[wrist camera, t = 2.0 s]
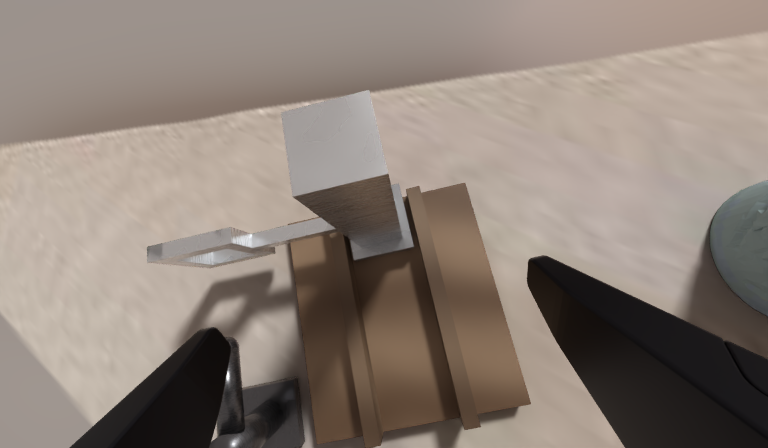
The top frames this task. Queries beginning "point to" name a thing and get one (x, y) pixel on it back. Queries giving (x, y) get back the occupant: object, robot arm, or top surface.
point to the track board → (405, 327)
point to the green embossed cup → (744, 244)
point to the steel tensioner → (318, 191)
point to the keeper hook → (258, 411)
